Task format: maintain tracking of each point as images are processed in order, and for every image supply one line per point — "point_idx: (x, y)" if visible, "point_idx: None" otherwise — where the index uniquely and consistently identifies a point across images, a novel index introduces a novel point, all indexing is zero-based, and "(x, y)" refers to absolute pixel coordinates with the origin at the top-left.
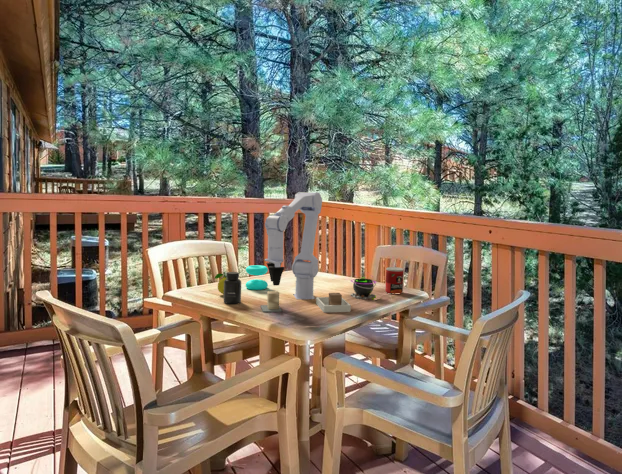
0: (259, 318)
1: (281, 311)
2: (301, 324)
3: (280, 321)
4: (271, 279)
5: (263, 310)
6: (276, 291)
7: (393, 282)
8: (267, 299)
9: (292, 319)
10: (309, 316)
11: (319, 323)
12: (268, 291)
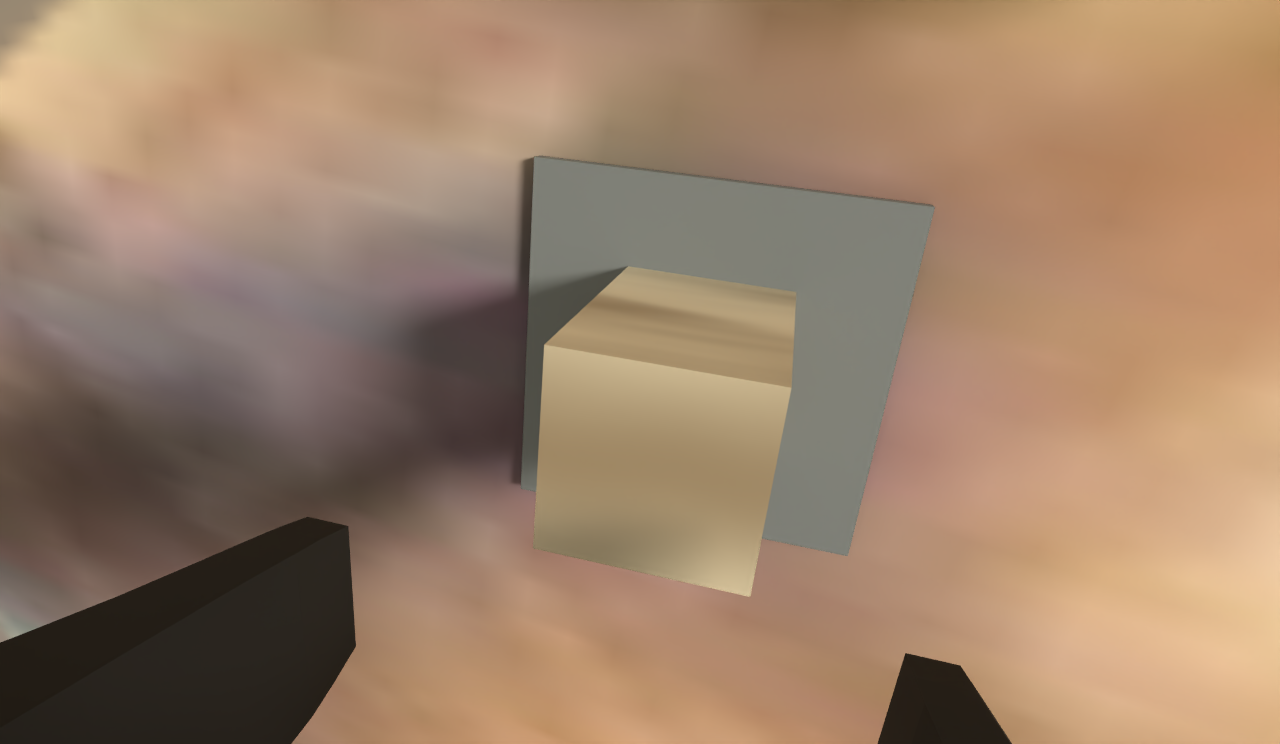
0: (222, 27)
1: (529, 415)
2: (32, 438)
3: (111, 268)
4: (911, 709)
5: (573, 173)
6: (727, 561)
7: None
8: (775, 326)
9: (194, 419)
10: None
11: (82, 592)
12: (767, 404)
